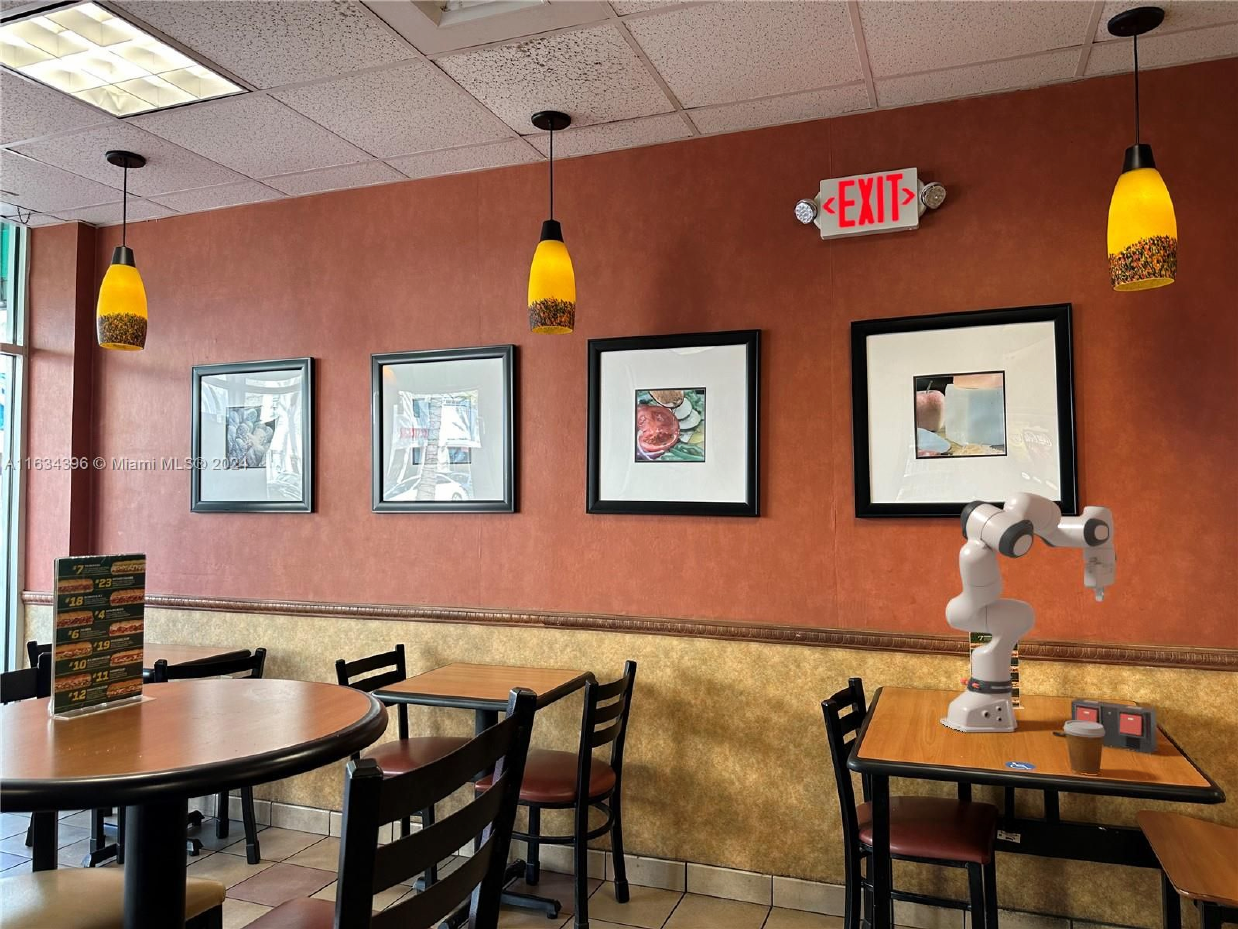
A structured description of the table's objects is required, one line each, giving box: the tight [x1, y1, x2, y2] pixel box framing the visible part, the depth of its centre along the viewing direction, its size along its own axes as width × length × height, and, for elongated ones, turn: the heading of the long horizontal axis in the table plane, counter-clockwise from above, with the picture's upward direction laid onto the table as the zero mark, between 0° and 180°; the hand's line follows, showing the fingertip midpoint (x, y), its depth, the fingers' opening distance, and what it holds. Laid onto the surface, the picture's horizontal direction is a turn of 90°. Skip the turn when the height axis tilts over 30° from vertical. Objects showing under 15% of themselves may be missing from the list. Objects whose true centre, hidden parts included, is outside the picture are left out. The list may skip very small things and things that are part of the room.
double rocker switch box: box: [1052, 697, 1158, 754], centre depth 248 cm, size 26×7×11 cm, turn 47°
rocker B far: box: [1120, 714, 1142, 736], centre depth 240 cm, size 5×1×5 cm, turn 47°
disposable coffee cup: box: [1062, 719, 1105, 774], centre depth 223 cm, size 10×10×12 cm
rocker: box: [1077, 707, 1098, 723], centre depth 247 cm, size 5×1×5 cm, turn 47°
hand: (1100, 600), depth 277 cm, fingers closed
